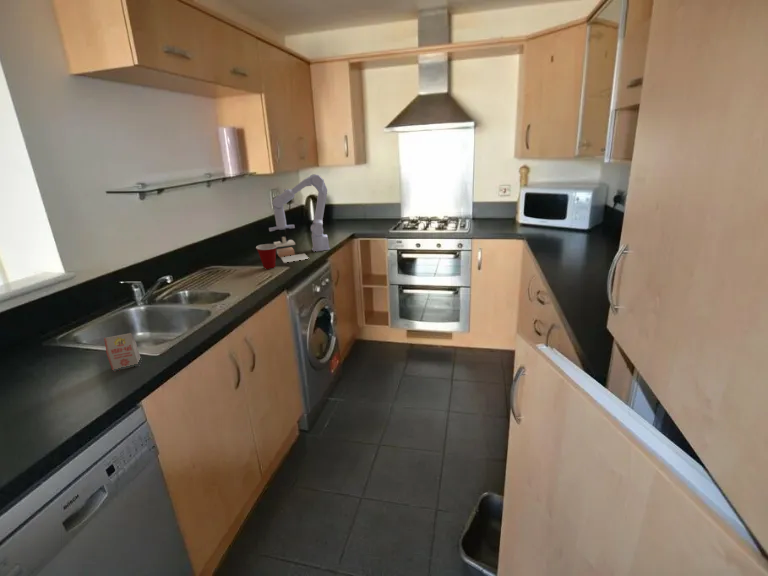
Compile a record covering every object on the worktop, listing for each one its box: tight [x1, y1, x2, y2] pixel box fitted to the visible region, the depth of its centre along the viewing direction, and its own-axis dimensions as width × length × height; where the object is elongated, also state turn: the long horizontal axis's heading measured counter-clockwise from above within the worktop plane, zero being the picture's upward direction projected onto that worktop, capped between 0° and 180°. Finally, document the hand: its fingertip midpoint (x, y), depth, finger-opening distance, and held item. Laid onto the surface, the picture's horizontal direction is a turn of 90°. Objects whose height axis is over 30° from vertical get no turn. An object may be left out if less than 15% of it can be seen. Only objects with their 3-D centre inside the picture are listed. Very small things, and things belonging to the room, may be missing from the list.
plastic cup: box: [255, 243, 278, 270], centre depth 210 cm, size 11×11×12 cm
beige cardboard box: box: [103, 332, 142, 371], centre depth 117 cm, size 4×7×10 cm, turn 109°
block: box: [276, 246, 296, 258], centre depth 238 cm, size 9×9×3 cm
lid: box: [273, 236, 296, 248], centre depth 235 cm, size 11×11×4 cm
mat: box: [280, 252, 309, 264], centre depth 227 cm, size 14×14×1 cm
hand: (284, 241), depth 236 cm, fingers closed on lid, 3 cm apart
